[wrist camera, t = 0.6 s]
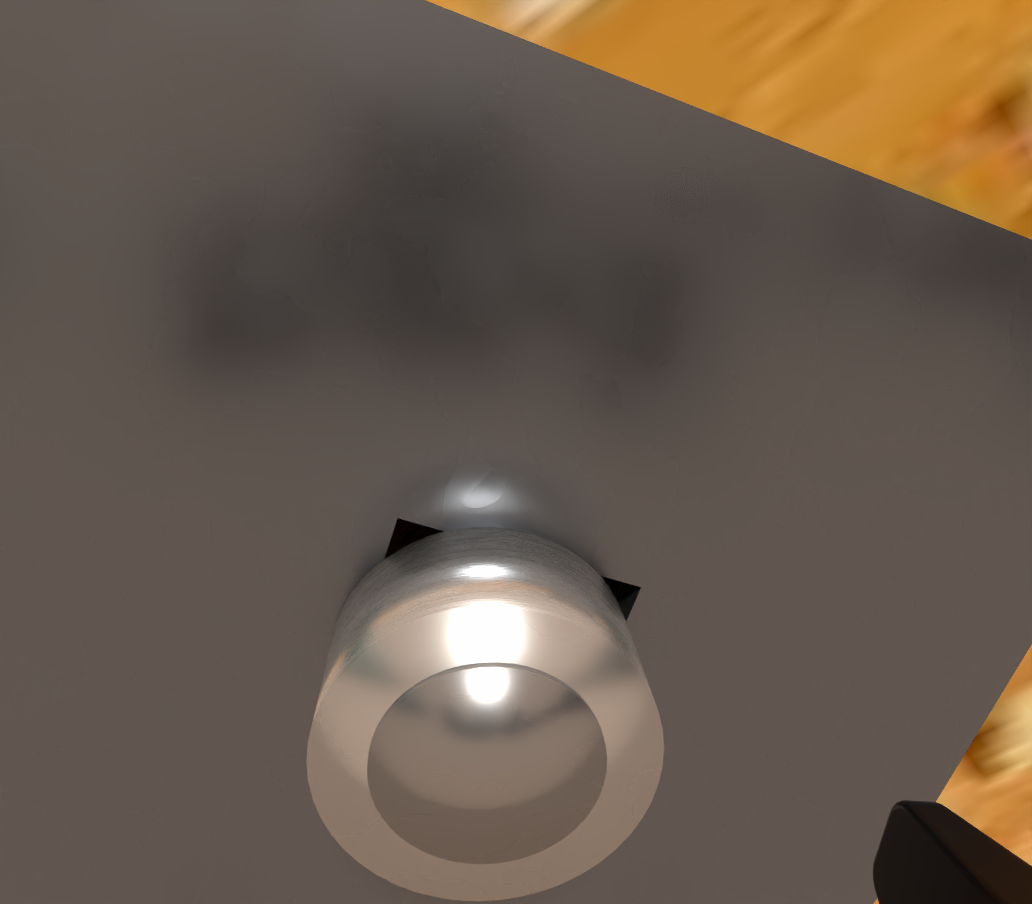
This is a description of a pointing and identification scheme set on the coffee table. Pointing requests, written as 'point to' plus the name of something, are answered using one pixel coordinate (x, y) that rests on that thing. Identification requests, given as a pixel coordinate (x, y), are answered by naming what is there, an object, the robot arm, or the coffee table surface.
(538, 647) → the end cover
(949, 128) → the coffee table surface
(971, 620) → the bore block
